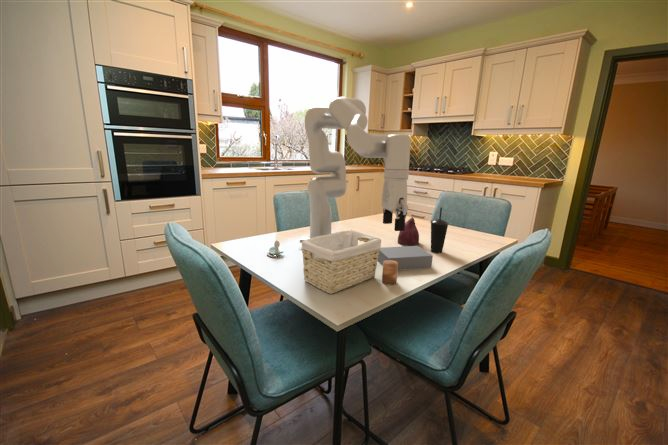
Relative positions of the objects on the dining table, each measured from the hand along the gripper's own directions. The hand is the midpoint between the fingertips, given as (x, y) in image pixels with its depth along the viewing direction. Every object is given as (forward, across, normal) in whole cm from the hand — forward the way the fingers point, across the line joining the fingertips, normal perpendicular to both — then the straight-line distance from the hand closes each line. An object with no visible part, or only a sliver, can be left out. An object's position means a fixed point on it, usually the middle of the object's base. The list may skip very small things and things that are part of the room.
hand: (393, 226), depth 102 cm
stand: (+19, -14, +12) cm, 27 cm away
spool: (+19, 0, 0) cm, 19 cm away
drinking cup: (+19, -25, +33) cm, 46 cm away
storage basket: (+19, -4, -16) cm, 26 cm away
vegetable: (+19, -39, +26) cm, 51 cm away
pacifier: (+19, -32, -38) cm, 53 cm away
